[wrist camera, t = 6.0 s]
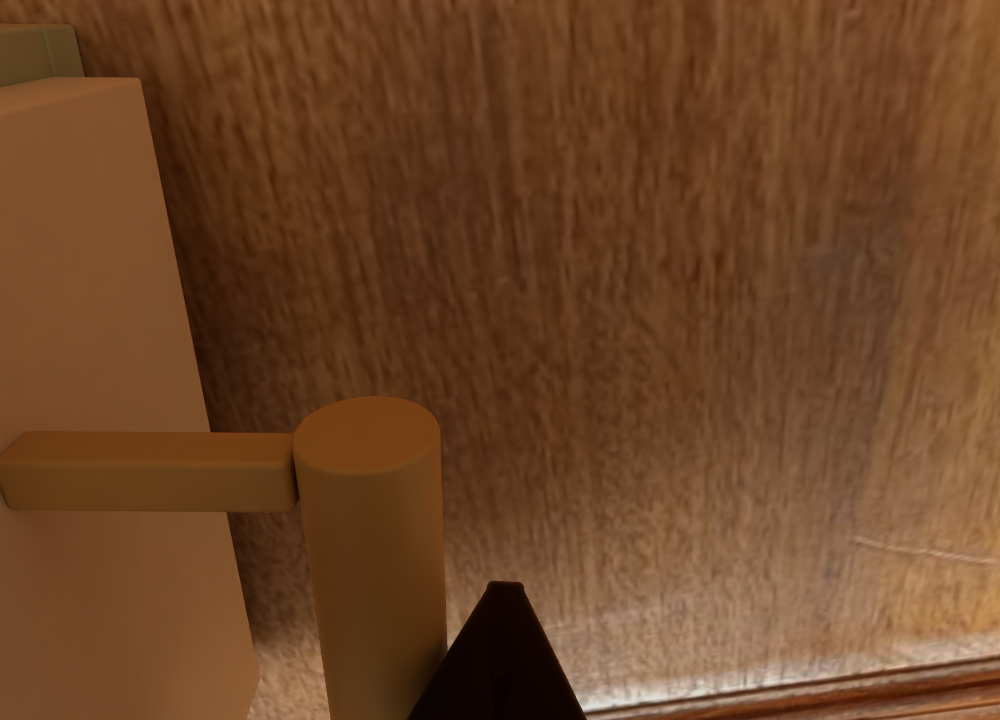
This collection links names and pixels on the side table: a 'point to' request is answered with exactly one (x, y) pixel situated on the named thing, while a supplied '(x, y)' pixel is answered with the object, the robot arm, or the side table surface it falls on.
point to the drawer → (172, 460)
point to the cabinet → (38, 52)
